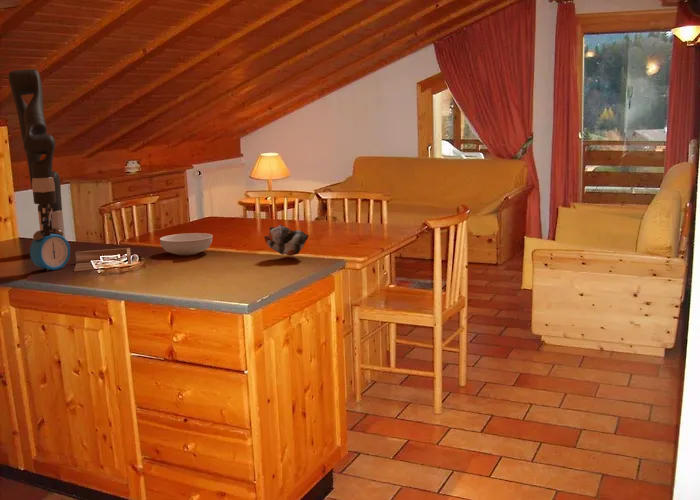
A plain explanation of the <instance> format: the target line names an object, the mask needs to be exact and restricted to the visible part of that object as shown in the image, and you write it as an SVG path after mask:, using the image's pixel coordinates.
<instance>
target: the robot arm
mask: <svg viewBox="0 0 700 500" xmlns="http://www.w3.org/2000/svg"><path fill="white" fill-rule="evenodd" d="M8 83H9V86H10V87H9V88H10V91H11V94H12V98H13V101H14V104H15V105H14V106H15V109H16V113H17V118H18V122H19V123H18V124H19V129H20V134H21V139H22V144H23V149H24V151H25V156H26V159H27V166H28V173H29V174H28V175H29V180H30V186H31V189H32V196H33V204H35V205H37V215H38V224H39V230H43V234H44V236H50V234H51V233H50V230H51V229H53V228H59V229H60V230H61V231H62V232H63V237H64V238H65V239H66V236H65V235H66V234H65V225H64V224H65V223H64V215H63V203H62V188H61V186H62V185H61V177H60V174H59V173H58V172H57V171H55V170H54V171H53V160H54V153H55V149H56V140H55V138H54V137H53V135H51V134H48V132H47V123H46V118H45V113H44V94H43V93H44V92H43V83H42V79H41V75H40V72H39V71H38V70H37V69H34V68H29V69H28V68H27V69H19V70H11V71H10V72H8ZM28 95H32V97H31V99H30V101H29V103H28V104H27V103H26V101H25V99H24V97H23V96H28ZM43 155H45V156H44V158H43V159H41V158H42V157H43Z"/></svg>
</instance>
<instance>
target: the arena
mask: <svg viewBox="0 0 700 500" xmlns="http://www.w3.org/2000/svg"><path fill="white" fill-rule="evenodd" d="M74 254H75V261H76V262H75V266H74V268H73V272H76V273H77V272H87V271H96V270H95V269H94V268H93V267H92V266H91V265H90V261H91V260H99V259H100V256H102V255H103V256H104V255H117V254H120V255H124V254H127V260H128V264H131V265H132V259H131V258H132V254H131V248H130V247H125V248H124V247H123V248H113V249H110V248H109V249H101V250H100V249H97V250H86V251H76V252H75V253H74Z"/></svg>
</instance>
